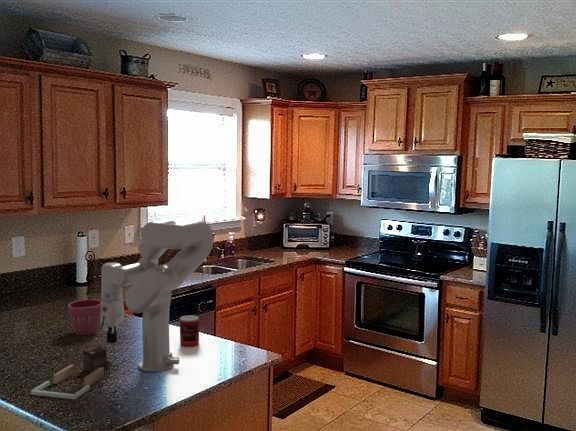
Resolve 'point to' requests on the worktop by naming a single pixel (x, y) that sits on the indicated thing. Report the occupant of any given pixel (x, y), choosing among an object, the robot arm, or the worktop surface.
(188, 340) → the canned food
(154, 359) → the robot arm
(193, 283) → the worktop surface
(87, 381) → the channel
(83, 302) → the plant pot
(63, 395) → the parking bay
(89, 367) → the box
